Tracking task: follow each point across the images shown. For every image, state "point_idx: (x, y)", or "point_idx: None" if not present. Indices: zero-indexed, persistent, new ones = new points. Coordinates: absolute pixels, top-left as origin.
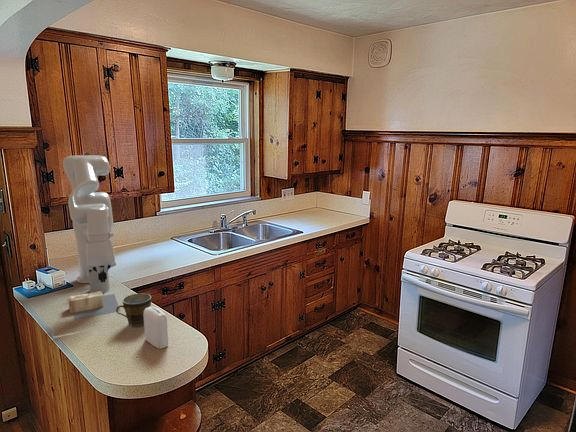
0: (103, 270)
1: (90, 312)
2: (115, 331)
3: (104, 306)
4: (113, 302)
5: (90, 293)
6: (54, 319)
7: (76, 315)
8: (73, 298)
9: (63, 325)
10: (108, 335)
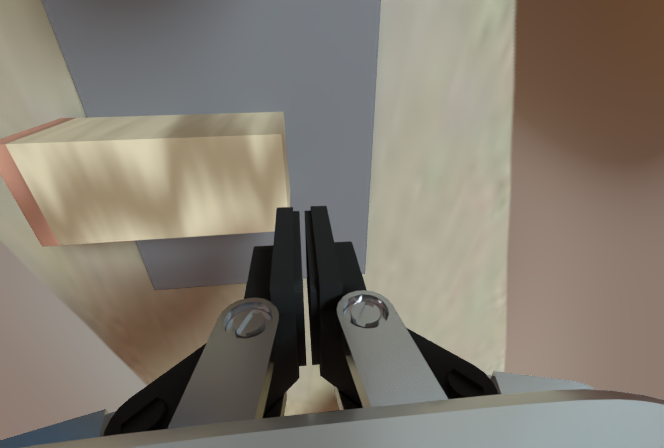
0: (332, 379)
1: (220, 236)
2: (320, 388)
3: (294, 187)
4: (350, 148)
5: (187, 148)
6: (25, 222)
7: (148, 243)
8: (59, 204)
9: (111, 300)
10: (297, 401)
